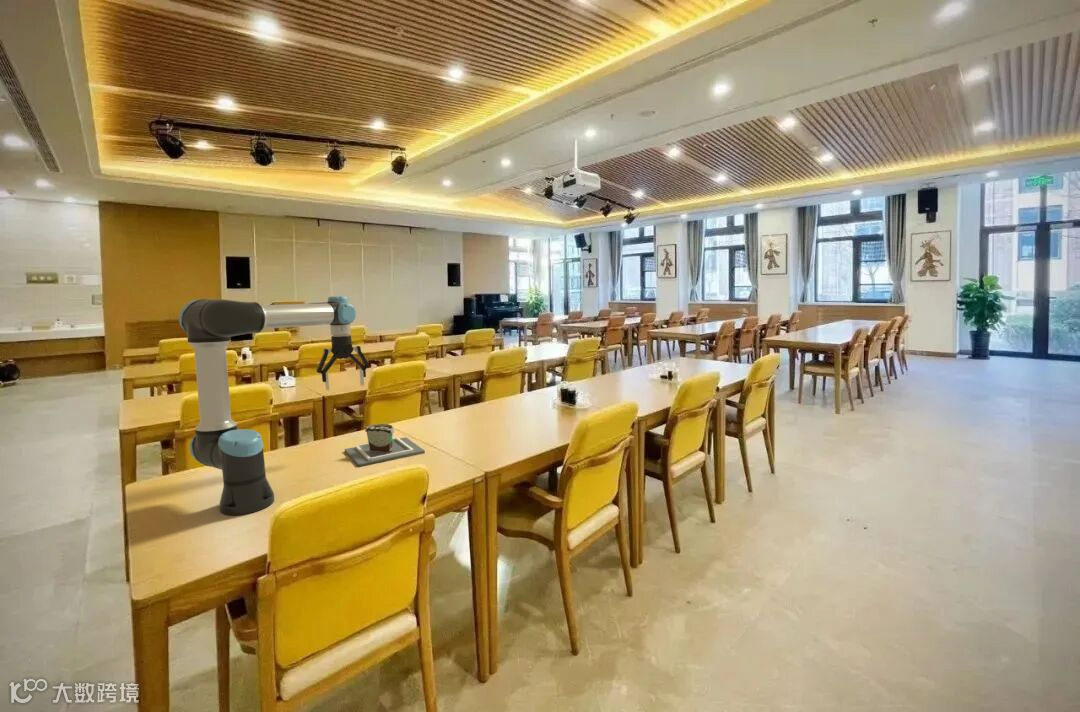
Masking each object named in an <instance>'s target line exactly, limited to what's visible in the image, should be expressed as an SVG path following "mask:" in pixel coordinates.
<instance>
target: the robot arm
mask: <svg viewBox="0 0 1080 712" xmlns="http://www.w3.org/2000/svg"><path fill="white" fill-rule="evenodd" d="M356 317H357V310H356V308H355V306H353V304H351V303H349V298H348V297H347V296H346V295H340V296H339V295H335V296H329V297H328V298H327V302H309V303H301V304H300V303H297V304H296V303H295V304H294V303H293V304H289V303H288V304H260V303H259V302H257V301H253V302H251V301H249V302H248V301H238V300H231V299H221V298H220V299H219V298H217V299H215V298H214V299H211V298H199V299H193V300H191V301H189V302H188V303H186V304H185V305H184V306H183V307H182V308H181V310H180V312H179V316H178V322H179V326H180V327H181V328H182V330H183V331H184V332H185V333H186V335H187V336H186V337H187V338H186V339H187V344H189V345H190V346H191V347H193V349H194V351H193V352H194V359H195V361H194V362H195V374H196V375H195V376H196V387H197V400H198V409H199V411H198V412H199V423H198V424H197V425H196V426H195V427H194V430H195V431H194V433H195V434H194V436H193V437H192V438H191V440H190V443H189V451H190V454H191V455H192V457H193V459H194V460H195V461H196V462H198V463H199V464H201V465H203V466H205V467H212V468H215V469H218V470H221V472H222V473H221V474H222V480H223V488H222V492H221V496H220V500H219V511H220V513H221V514H223V515H225V516H240V515H247V514H252V513H255V512H259V511H261V510H263V509H266V508H267V507H269V506H271V505H272V504H273V503H274V502H275V500H274V499H275V492H274V491H273V489H272V486H271V484H270V482H269V481H268V479H267V474H266V464H265V454H264V442H263V437H262V435H261V433H259V432H258V431H257V430H255V429H249V428H247V429H243V428H238V423H237V422H236V421H235V420H233V419H232V412H231V411H232V410H231V399H230V385H229V384H230V383H229V373H228V372H229V371H228V359H227V346H228V345H229V344H230V343H231V342H232V340H231V339H232V337H235V336H241V335H242V336H243V335H247V334H257V333H262V332H263V330H267V329H269V330H270V329H279V328H280V329H282V328H293V327H309V326H321V325H323V326H324V325H329V326H330V328H329V329H330V335H331V337H330V338H331V341H330V342H331V348H326V347H325V348H323V352H322V353H323V354H322V356H321V359H320V362H319V363H318V366H317V368H316V373H318V374H321V380H322V382H323V383H324V384H325V390H326V391H330V384H329V383H330V382H329V374H328V373H327V372H328V370H330V368H331V367H332V366H333V364H334V363H335V362H336V361H337V360H338V359H339V360H342V359H348V358H349V359H351V360H352V361H353V362H354V363H355V364H356V365H358V367H359V368H360V369H359V370H358V371H359V382H360V386H362V387H364V386H365V379H364V378H366V377H367V374H366V373H367V371H366V370H367V369H368V368H370V367H371V365H370V363H369V362H368V360H367V359H366V357H365V355H364V353H363V352H362V349H361V346H360V345H356V346H353V342H352V341H353V340H352V336H351V334H352V331H351V330H352V329H351V324H352V323H353V322H354V321H355V320H356ZM353 351H354V352H356V353H357V354H358V356H359V359H360V360H361V361H362V362H360V361H359V359H358V358H357V357H355V355H353V354H352V353H353ZM331 353H332V356H331V358H330V359H329V361H328V362H327V363H326V361H327V359H328V356H329V355H330V354H331ZM325 363H326V365H325ZM324 365H325V366H324Z"/></svg>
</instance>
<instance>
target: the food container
mask: <svg viewBox="0 0 1080 712" xmlns="http://www.w3.org/2000/svg"><path fill="white" fill-rule="evenodd" d="M365 432H366V437H367V443H369V449H370V451H373V452H384V453H391V452H392V439H393V438H394V435H393V434H395V429H394V426H393V425H392V424H386V423H381V424H380V423H379V424H372V425H368V426H366V427H365Z"/></svg>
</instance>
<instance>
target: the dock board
mask: <svg viewBox="0 0 1080 712" xmlns="http://www.w3.org/2000/svg"><path fill="white" fill-rule="evenodd" d="M425 451H426V450H424V449H423V448H422V447H421V446H419V445H417V444H416V443H414V442H413V441H412V440H410V439H409V438H407V437H406V436H405V437H401V438H399V437H393V439H392V452H391V453H384V452H373V451H370V449H369V443H368V442H367V443H362V444H357V445H355V446H353V447H349V448H344V453H346V454H347V455H348V457H349V458H350V459H351V460H352V461H353V462H354V463H355V464H356V465H357V466H358V468H360V467H365V466H371V465H374V464H379V463H384V461H385V462H388V461H394V460H398V458H399V459H403V457H404V458H407V457H412V456H417V455H422V454H425Z"/></svg>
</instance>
